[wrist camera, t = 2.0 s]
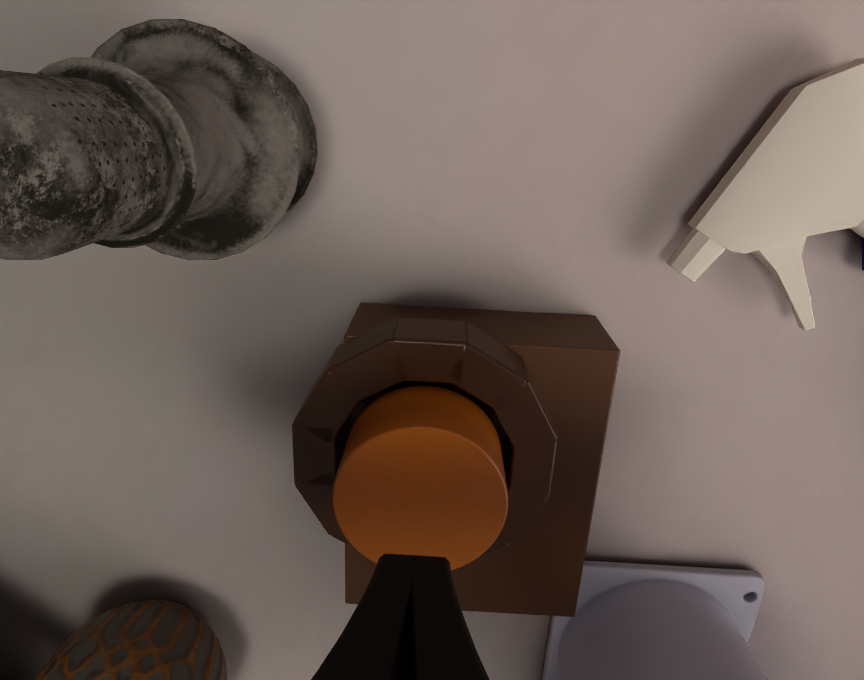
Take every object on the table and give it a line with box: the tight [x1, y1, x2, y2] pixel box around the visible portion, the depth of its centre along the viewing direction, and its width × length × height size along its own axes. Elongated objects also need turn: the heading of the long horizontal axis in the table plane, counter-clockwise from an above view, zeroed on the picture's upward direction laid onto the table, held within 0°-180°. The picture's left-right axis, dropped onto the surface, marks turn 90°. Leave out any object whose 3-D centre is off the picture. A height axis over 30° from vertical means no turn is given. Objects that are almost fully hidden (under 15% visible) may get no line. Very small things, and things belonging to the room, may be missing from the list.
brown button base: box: [292, 303, 620, 617], centre depth 20 cm, size 11×9×5 cm
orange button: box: [332, 386, 508, 570], centre depth 16 cm, size 4×4×2 cm
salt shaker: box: [0, 19, 317, 260], centre depth 13 cm, size 6×6×12 cm
